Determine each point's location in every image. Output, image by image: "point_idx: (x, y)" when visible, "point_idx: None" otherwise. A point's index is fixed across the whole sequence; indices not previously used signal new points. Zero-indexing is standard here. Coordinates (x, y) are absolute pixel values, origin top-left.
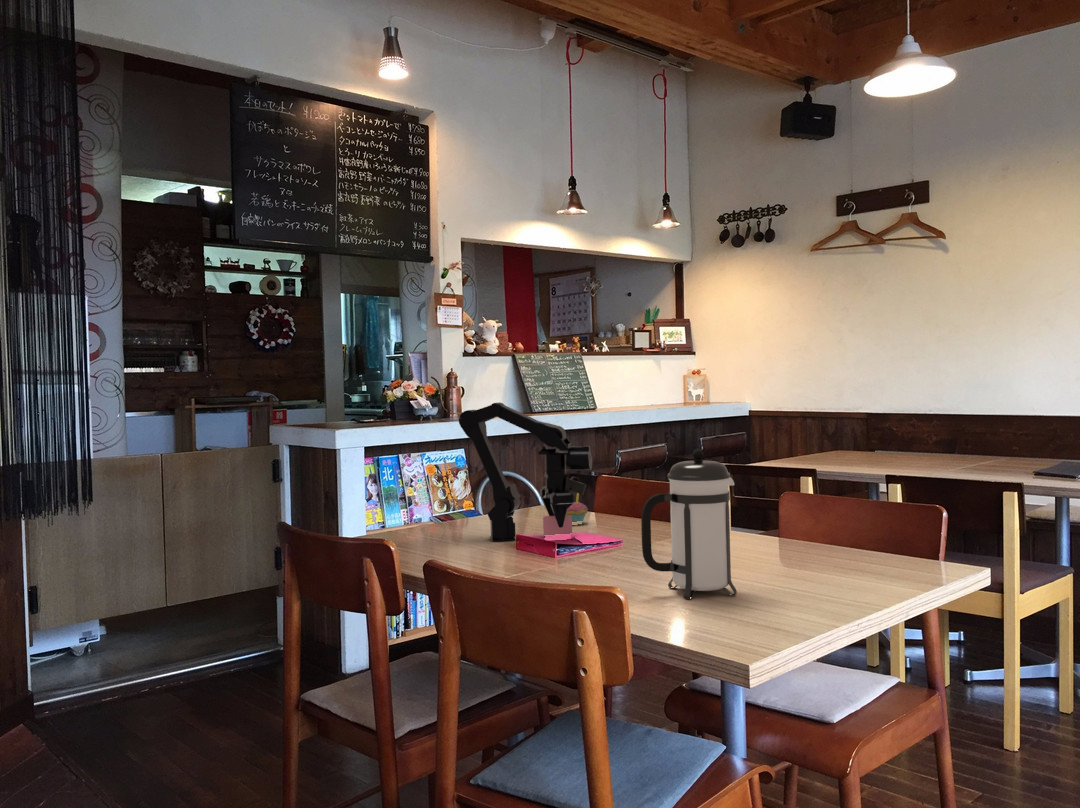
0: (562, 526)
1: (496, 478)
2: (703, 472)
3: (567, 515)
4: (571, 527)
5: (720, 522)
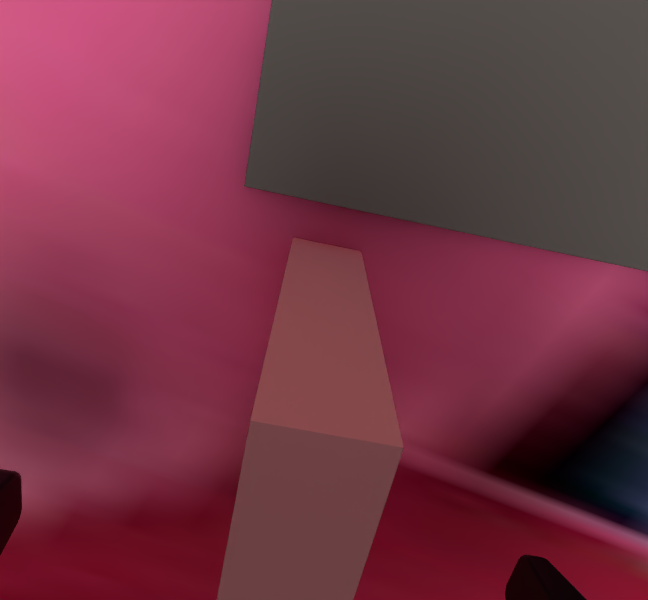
0: (549, 568)
1: None
2: None
3: (325, 516)
4: (370, 321)
5: None
